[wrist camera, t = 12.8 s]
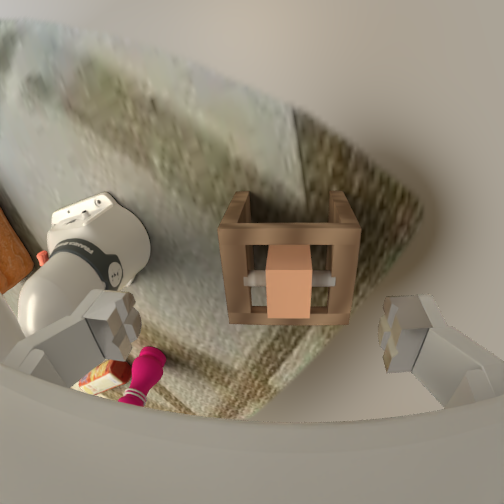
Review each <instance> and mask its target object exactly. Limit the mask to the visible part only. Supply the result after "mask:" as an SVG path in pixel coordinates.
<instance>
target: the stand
mask: <svg viewBox="0 0 504 504" xmlns="http://www.w3.org/2000/svg"><path fill="white" fill-rule="evenodd" d="M217 231H218V239H219V248H220V256H221V264H222V272H223V279H224V287H225V295H226V302H227V309H228V317H229V324H250V325H348V324H349V318H350V312H351V306H352V299H353V293H354V286H355V279H356V272H357V264H358V256H359V247H360V238H361V227H360V225H359V223H358V221H357V218H356V216H355V214H354V212H353V210H352V208H351V206H350V204H349V202H348V200H347V198H346V197H345V195H344V193H343V191H329V219H328V223H251V211H250V196H249V191H239V192H236V193H235V195H234V197H233V198H232V200H231V202H230V204H229V206H228V208H227V210H226V212H225V214H224V216H223V218H222V220H221V222H220V224H219V226H218V229H217ZM253 245H327V256H326V270H312V287H328V300H327V307H310V318H268V314H267V306H252V301H251V286H266V270H254V256H253Z"/></svg>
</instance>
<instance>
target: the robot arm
mask: <svg viewBox="0 0 504 504" xmlns="http://www.w3.org/2000/svg"><path fill="white" fill-rule="evenodd" d="M99 200H100V201H101V203H100V202H99ZM47 245H48V250H49V254H50V257H49V258H48V253H47V251H42V252H39V253H38V254H37V258H38V260H39V262H40V266H41V267H40V268H39V269H38V270H37V271H36V272H35V273H34V274H33V275H32V276H31V277H30V278H29V279H28V280H27V281H26V282H25V284H24V285H23V287H22V289H21V292H20V295H19V301H18V319H17V318H16V315H15V313H14V312H13V310H12V309H11V307H10V306H9V304H8V303H7V301H6V300H5V298H4V297H3V295H2V294H1V292H0V504H504V361H503V360H501V359H499V358H498V357H497V356H495V355H494V354H492V353H491V352H490V351H488V350H487V349H485V348H484V347H482V346H481V345H479V344H478V343H477V342H475V341H474V340H472V339H470V338H469V337H468V336H466V335H464V334H463V333H462V332H460V331H459V330H457V329H456V328H454V327H452V326H450V327H448V325H447V323H446V321H445V319H444V317H443V315H442V313H441V311H440V310H439V308H438V306H437V304H436V302H435V300H434V299H433V297H432V295H430V294H420V295H411V296H387V297H386V298H385V300H384V304H383V309H384V312H385V314H384V315H383V316H382V317H381V318H380V321H379V326H378V339H379V345H380V347H381V348H382V349H383V350H385V352H384V355H383V360H384V364H385V368H386V372H387V373H397V372H411V371H412V372H411V373H412V374H413V375H414V376H415V377H416V378H417V379H418V380H419V381H420V382H421V383H422V384H423V385H424V387H426V389H428V391H429V392H430V393H431V394H432V395H433V396H434V397H435V398H436V399H437V400H438V401H439V402H440V404H441V405H442V406H443V407H444V409H443V410H437V411H432V412H426V413H420V414H413V415H407V416H399V417H391V418H382V419H371V420H359V421H343V422H313V423H312V422H311V423H291V422H290V423H289V422H259V421H244V420H231V419H221V418H211V417H203V416H195V415H188V414H181V413H174V412H168V411H162V410H157V409H151V408H146V407H141V406H136V405H132V404H127V403H123V402H118V401H114V400H110V399H106V398H102V397H98V396H94V395H91V394H87V393H84V392H80V391H77V390H73V389H70V387H71V386H73V385H74V384H75V383H76V382H78V381H79V380H80V379H81V378H83V377H84V376H85V375H86V374H88V373H89V372H90V371H91V370H93V369H94V368H95V367H96V366H98V365H99V364H100V363H101V362H103V361H104V360H105V359H110V360H117V361H124V362H125V361H126V359H127V357H128V355H129V353H130V352H131V350H132V345H131V343H132V342H133V341H135V340H136V339H137V338H138V336H139V334H140V332H141V325H142V324H141V317H140V314H139V312H138V311H137V310H136V309H135V308H134V305H135V299H134V297H133V294H131V293H130V292H123V291H121V290H122V289H123V288H124V287H125V286H129V285H130V284H131V283H132V282H133V280H134V278H135V275H136V274H137V273H138V272H139V271H140V270H142V269H143V268H144V267H145V266H146V264H147V262H148V260H149V257H150V251H151V247H150V240H149V237H148V234H147V232H146V230H145V228H144V226H143V225H142V223H141V222H140V221H139V219H138V218H137V217H136V216H135V215H134V214H132V213H131V212H130V211H128V210H127V209H125V208H123V207H122V206H120V205H119V204H118V203H117V202H116V201H115V200H114V198H113V197H112V196H111V195H110V194H109V193H107V192H103V193H100V194H97V195H94V196H92V197H89V198H86V199H84V200H81V201H79V202H76V203H74V204H71V205H68V206H66V207H63V208H61V209H59V210H56V211H55V212H54V213H53V215H52V229H50V230H49V232H48V235H47Z"/></svg>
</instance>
